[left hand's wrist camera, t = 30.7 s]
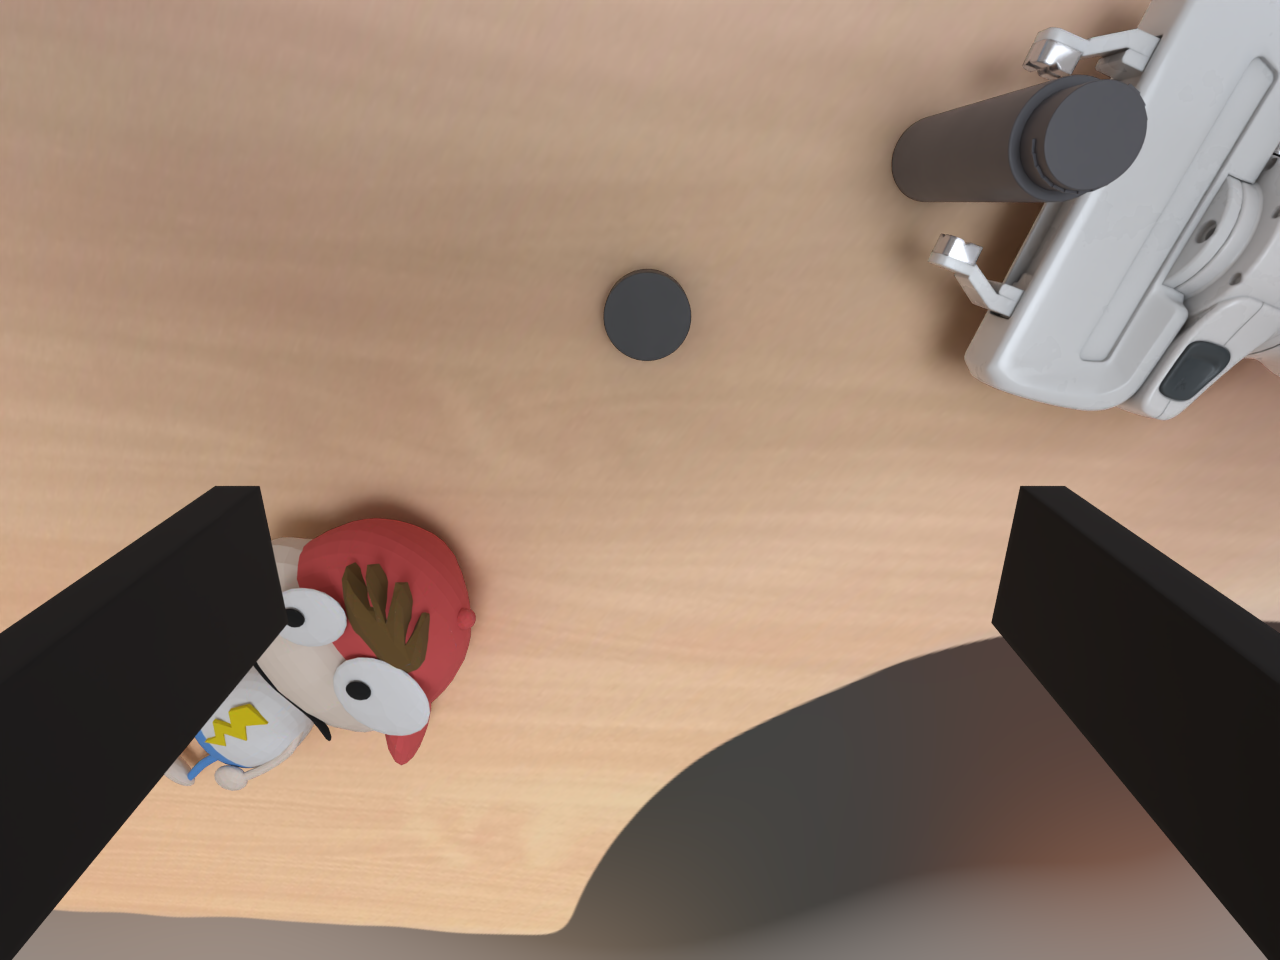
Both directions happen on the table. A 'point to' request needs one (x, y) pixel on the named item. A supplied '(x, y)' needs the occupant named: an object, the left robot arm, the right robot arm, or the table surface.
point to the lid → (647, 315)
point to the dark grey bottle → (1025, 144)
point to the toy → (345, 649)
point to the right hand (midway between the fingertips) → (984, 152)
